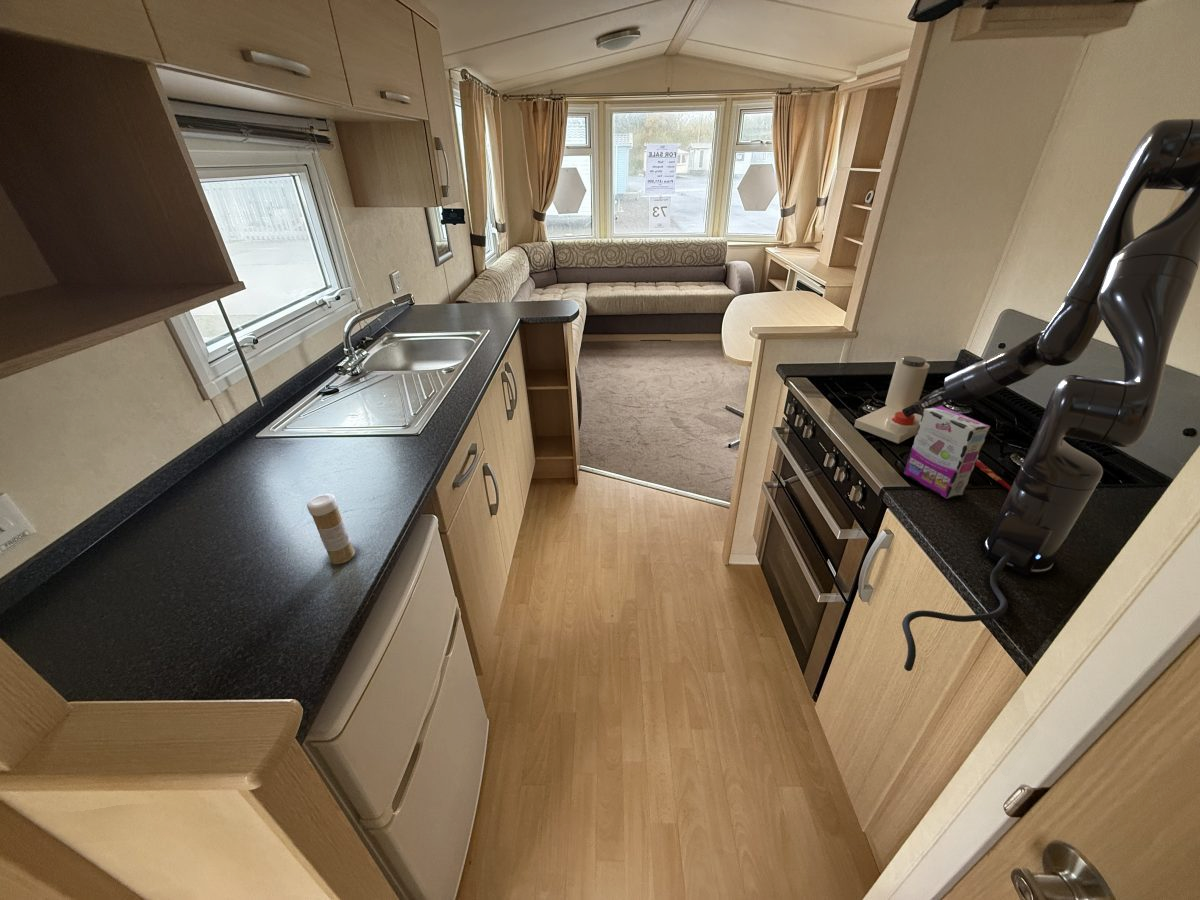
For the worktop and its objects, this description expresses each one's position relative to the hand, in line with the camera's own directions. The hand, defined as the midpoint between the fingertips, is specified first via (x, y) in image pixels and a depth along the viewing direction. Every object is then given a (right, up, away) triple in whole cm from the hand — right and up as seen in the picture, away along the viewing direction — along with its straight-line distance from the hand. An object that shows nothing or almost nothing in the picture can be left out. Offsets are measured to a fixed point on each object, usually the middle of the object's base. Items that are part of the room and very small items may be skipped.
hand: (905, 412), depth 122 cm
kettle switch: (0, -2, +1) cm, 3 cm away
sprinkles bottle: (-128, -30, -30) cm, 135 cm away
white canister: (+5, +3, +9) cm, 11 cm away
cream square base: (+1, -3, +7) cm, 8 cm away
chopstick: (+9, -15, -14) cm, 23 cm away
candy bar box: (-5, -17, -17) cm, 25 cm away
